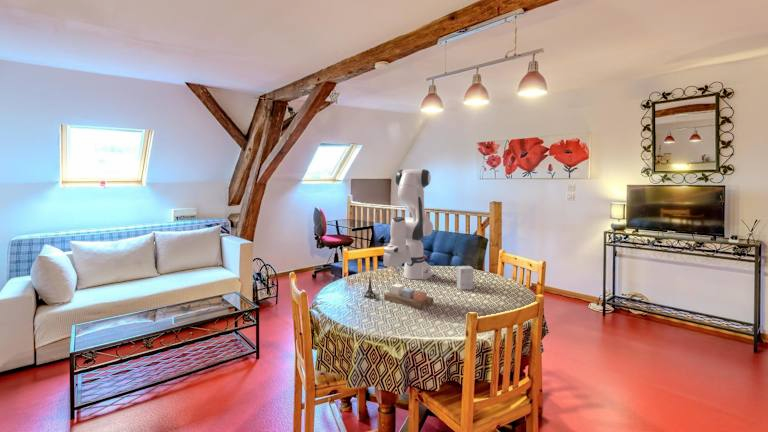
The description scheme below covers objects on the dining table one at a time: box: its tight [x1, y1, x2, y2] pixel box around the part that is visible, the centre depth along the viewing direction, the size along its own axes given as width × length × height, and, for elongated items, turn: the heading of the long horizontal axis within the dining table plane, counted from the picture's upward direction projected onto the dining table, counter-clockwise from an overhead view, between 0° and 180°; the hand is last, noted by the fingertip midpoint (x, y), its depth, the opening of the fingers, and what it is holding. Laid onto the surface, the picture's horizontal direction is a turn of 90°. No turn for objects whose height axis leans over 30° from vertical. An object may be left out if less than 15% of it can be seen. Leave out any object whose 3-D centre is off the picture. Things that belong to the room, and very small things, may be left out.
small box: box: [456, 265, 474, 291], centre depth 238 cm, size 8×6×13 cm
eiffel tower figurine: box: [362, 275, 381, 302], centre depth 222 cm, size 15×10×13 cm
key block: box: [383, 291, 434, 311], centre depth 215 cm, size 12×24×3 cm, turn 50°
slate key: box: [402, 287, 416, 299], centre depth 215 cm, size 5×5×5 cm
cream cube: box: [390, 283, 405, 296], centre depth 220 cm, size 5×5×5 cm
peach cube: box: [413, 290, 428, 302], centre depth 210 cm, size 5×5×5 cm
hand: (397, 272), depth 218 cm, fingers closed
